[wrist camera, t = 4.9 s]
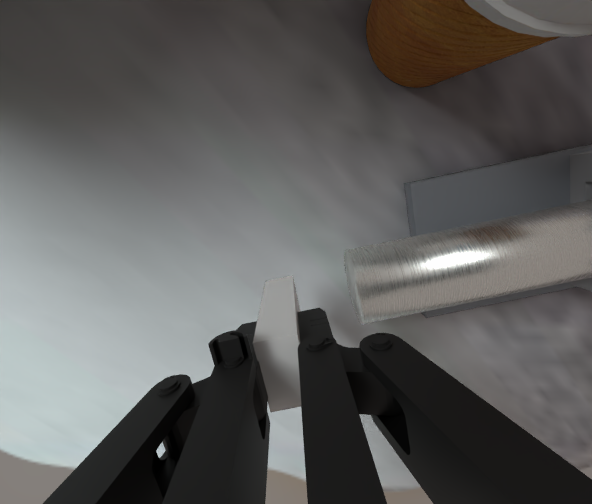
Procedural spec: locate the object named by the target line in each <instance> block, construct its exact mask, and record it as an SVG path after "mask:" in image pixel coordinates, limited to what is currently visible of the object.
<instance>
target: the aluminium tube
mask: <svg viewBox="0 0 592 504" xmlns="http://www.w3.org/2000/svg"><path fill="white" fill-rule="evenodd" d="M344 266H345V273H346V278H347V284H348V288H349V292H350V296H351V300H352V303H353V307H354V310H355V312H356V315H357V317H358V320H359V321H360V323H361V324H367V323H372V322H377V321H381V320H386V319H391V318H396V317H401V316H406V315H411V314H416V313H420V312H425V311H430V310H435V309H440V308H445V307H450V306H455V305H460V304H464V303H469V302H474V301H479V300H484V299H489V298H494V297H499V296H503V295H508V294H513V293H518V292H523V291H528V290H533V289H538V288H542V287H547V286H552V285H557V284H562V283H567V282H572V281H577V280H581V279H586V278H591V277H592V199H591V200H586V201H581V202H576V203H572V204H567V205H562V206H557V207H552V208H548V209H543V210H538V211H533V212H528V213H524V214H519V215H514V216H509V217H504V218H499V219H495V220H490V221H485V222H480V223H475V224H471V225H466V226H461V227H456V228H451V229H447V230H442V231H437V232H432V233H427V234H423V235H418V236H413V237H408V238H403V239H399V240H394V241H389V242H384V243H379V244H375V245H370V246H365V247H360V248H355V249H351V250H346V251H345V252H344Z"/></svg>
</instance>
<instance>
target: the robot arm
mask: <svg viewBox="0 0 592 504" xmlns="http://www.w3.org/2000/svg"><path fill="white" fill-rule="evenodd" d="M208 345H209V348H210V352H211V355H212V358H213V362H214V365H215V367H214V369H213V372H212V374H211V376H210V377H208V378H206V379H204V380H201V381H199V382H196V383H193V384H192V382H191V379H190V377H189V376H187V375H173V376H170V377H167V378H165V379H164V380H163V381H161V382H159V383H157V384H156V385H155V386H154V387H153V388H152V389H151V390H150V391H149V392H148V393H147V394H146V395H145V396H144V397H143V398H142V399H141V400H140V401H139V402H138V403H137V404H136V406H135V407H134V408H133V409H132V410H131V411H130V412H129V413H128V414H127V415H126V416H125V417H124V418H123V419H122V420H121V421H120V422H119V424H118V425H117V426H116V427H115V428H114V429H113V430H112V431H111V432H110V433H109V434H108V435H107V436H106V437H105V438H104V439H103V440H102V442H101V443H100V444H99V445H98V446H97V447H96V448H95V449H94V450H93V451H92V452H91V453H90V454H89V455H88V456H87V457H86V458H85V459H84V461H83V462H82V463H81V464H80V465H79V466H78V467H77V468H76V469H75V470H74V471H73V472H72V473H71V475H70V476H68V477H67V479H66V480H65V481H64V482H63V483H62V484H61V485H60V486H59V487H58V488H57V489H56V490H55V491H54V492H53V493H52V494H51V496H50V497H49V498H48V499H47V500H46V501H45V502H44V503H43V504H265V497H266V480H267V465H268V449H269V432H270V421H269V416H268V413H267V402H268V404H269V408H270V412H275V411H280V410H285V409H290V408H295V407H300V406H301V408H302V423H303V438H304V452H305V467H306V482H307V497H308V504H387V502H386V499H385V496H384V492H383V489H382V486H381V483H380V480H379V477H378V473H377V470H376V467H375V464H374V461H373V457H372V454H371V451H370V448H369V445H368V441H367V438H366V435H365V432H364V429H363V425H362V422H361V419H360V416H359V414H367V415H371V416H372V418H373V421H374V423H375V424H376V425H377V427H378V428H379V430H380V431H381V432H382V434H383V435H384V436H385V438H386V439H387V440H388V442H389V443H390V445H391V446H392V447H393V449H394V450H395V451H396V453H397V454H398V456H399V457H400V458H401V460H402V461H403V462H404V464H405V465H406V467H407V468H408V469H409V471H410V472H411V473H412V475H413V476H414V478H415V479H416V480H417V482H418V483H419V484H420V486H421V487H422V489H423V490H424V491H425V493H426V494H427V495H428V497H429V498H430V499H431V501H432V502H433V504H592V479H590V478H589V477H587V476H586V475H585V474H583V473H582V472H581V471H579V470H578V469H577V468H575V467H574V466H573V465H571V464H570V463H569V462H567V461H566V460H564V459H563V458H562V457H560V456H559V455H558V454H556V453H555V452H554V451H552V450H551V449H550V448H548V447H547V446H545V445H544V444H543V443H541V442H540V441H539V440H537V439H536V438H535V437H533V436H532V435H531V434H529V433H528V432H527V431H525V430H524V429H522V428H521V427H520V426H518V425H517V424H516V423H514V422H513V421H512V420H510V419H509V418H508V417H506V416H505V415H504V414H502V413H501V412H499V411H498V410H497V409H495V408H494V407H493V406H491V405H490V404H489V403H487V402H486V401H485V400H483V399H482V398H480V397H479V396H478V395H476V394H475V393H474V392H472V391H471V390H470V389H468V388H467V387H466V386H464V385H463V384H462V383H460V382H459V381H457V380H456V379H455V378H453V377H452V376H451V375H449V374H448V373H447V372H445V371H444V370H443V369H441V368H440V367H439V366H437V365H436V364H434V363H433V362H432V361H430V360H429V359H428V358H426V357H425V356H424V355H422V354H421V353H420V352H418V351H417V350H415V349H414V348H413V347H411V346H410V345H409V344H407V343H406V342H405V341H403V340H402V339H401V338H399V337H397V336H395V335H393V334H388V333H376V334H373V335H369V336H367V337H365V338H364V339H363V340H362V341H361V342H360V348H348V347H343V346H341V345H338V344H337V343H336V340H335V339H334V338H333V335H332V332H331V329H330V325H329V322H328V319H327V316H326V312H325V311H324V310H322V309H320V308H316V309H311V310H306V311H301V312H300V307H299V303H298V298H297V293H296V289H295V284H294V279H293V276H288V277H283V278H278V279H273V280H268V281H265V286H264V291H263V295H262V300H261V305H260V310H259V315H258V320H257V321H256V322H251V323H246V324H242V325H241V326H240V327H239V328H238V329H237V330H235V331H229V332H226V333H223V334H221V335H219V336H217V337H215V338H214V339H213V340H211V342H210V343H209V344H208ZM162 441H163V444H164V447H165V450H166V451H165V453H164V454H163V455H162V456H161V457H160V458H159V457H158V455H157V453H156V450H157V448H158V447H159V445H160V444H161V443H162Z"/></svg>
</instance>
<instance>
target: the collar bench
mask: <svg viewBox="0 0 592 504" xmlns="http://www.w3.org/2000/svg"><path fill="white" fill-rule="evenodd" d="M404 187H405V195H406V203H407V211H408V219H409V227H410V235H411V237H413V236H418V235H423V234H427V233H432V232H437V231H442V230H447V229H451V228H456V227H461V226H466V225H471V224H475V223H480V222H485V221H490V220H495V219H499V218H504V217H509V216H514V215H519V214H524V213H528V212H533V211H538V210H543V209H548V208H552V207H557V206H562V205H567V204H572V203H576V202H581V201H586V200H591V199H592V144H590V145H585V146H580V147H575V148H571V149H566V150H561V151H556V152H552V153H547V154H542V155H537V156H533V157H528V158H523V159H518V160H514V161H509V162H504V163H499V164H495V165H490V166H485V167H480V168H476V169H471V170H466V171H461V172H457V173H452V174H447V175H442V176H438V177H433V178H428V179H423V180H419V181H414V182H409V183H404ZM574 287H580V288H583V289H586V290H588V291H591V292H592V277H591V278H586V279H581V280H577V281H572V282H567V283H562V284H557V285H552V286H547V287H542V288H538V289H533V290H528V291H523V292H518V293H513V294H508V295H503V296H499V297H494V298H489V299H484V300H479V301H474V302H469V303H464V304H460V305H455V306H450V307H445V308H440V309H435V310H430V311H425V312H421V313H422V314H423V315H424V316H425V317H426V318H428V317H433V316H437V315H442V314H447V313H452V312H457V311H462V310H467V309H472V308H476V307H481V306H486V305H491V304H496V303H501V302H506V301H511V300H516V299H520V298H525V297H530V296H535V295H540V294H545V293H550V292H555V291H559V290H564V289H569V288H574Z"/></svg>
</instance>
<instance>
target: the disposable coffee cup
mask: <svg viewBox="0 0 592 504" xmlns="http://www.w3.org/2000/svg"><path fill="white" fill-rule="evenodd" d="M586 35H592V0H372V2H371V5H370V9H369V12H368V17H367V23H366V37H367V42H368V47H369V51H370V54H371V56H372V59H373V61H374V62H375V64H376V65H377V67H378V69H379V70H380V71H381V72H382V73H383V74H384V75H385V76H386V77H387V78H389V79H390V80H392V81H393V82H395V83H397V84H400V85H402V86H407V87H414V88H418V87H426V86H430V85H434V84H436V83H438V82H441V81H443V80H446V79H449V78H451V77H454V76H457V75H460V74H462V73H465V72H468V71H470V70H473V69H476V68H478V67H481V66H484V65H486V64H489V63H492V62H494V61H497V60H500V59H503V58H505V57H507V56H510V55H513V54H516V53H518V52H521V51H524V50H527V49H529V48H531V47H534V46H537V45H540V44H542V43H545V42H547V41H550V40H553V39H556V38H558V37H560V36H565V37H580V36H586Z"/></svg>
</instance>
